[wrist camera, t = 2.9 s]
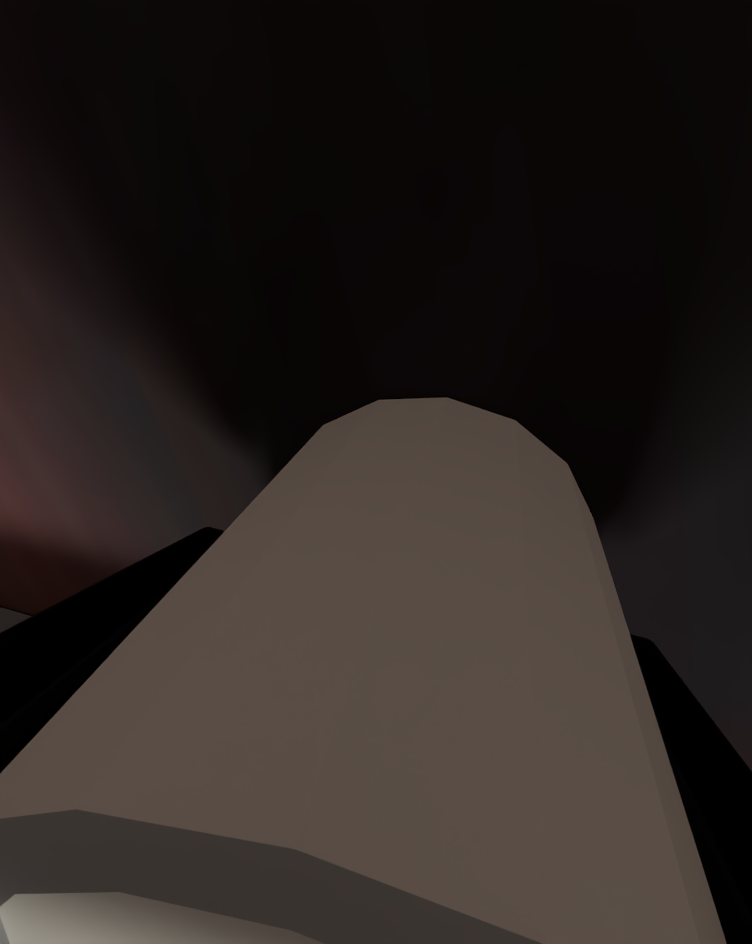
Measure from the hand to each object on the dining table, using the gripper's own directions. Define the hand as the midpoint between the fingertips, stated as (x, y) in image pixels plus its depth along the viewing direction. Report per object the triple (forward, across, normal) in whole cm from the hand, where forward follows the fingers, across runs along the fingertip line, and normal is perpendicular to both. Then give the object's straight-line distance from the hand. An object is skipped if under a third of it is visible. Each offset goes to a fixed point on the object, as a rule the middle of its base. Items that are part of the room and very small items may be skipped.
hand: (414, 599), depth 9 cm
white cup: (+2, 0, 0) cm, 2 cm away
